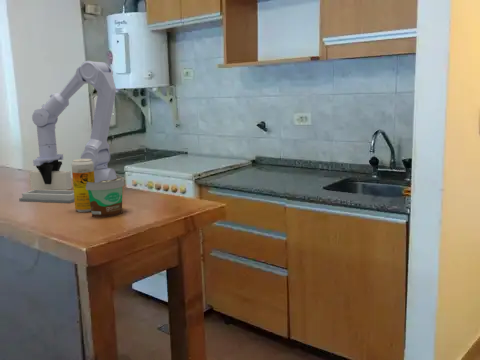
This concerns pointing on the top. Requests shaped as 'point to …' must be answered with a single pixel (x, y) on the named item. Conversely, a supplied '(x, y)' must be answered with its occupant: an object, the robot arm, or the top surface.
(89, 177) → the beer can
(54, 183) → the long cream rectangular block
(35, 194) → the stepped grey tray
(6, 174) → the top surface
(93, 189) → the food container
